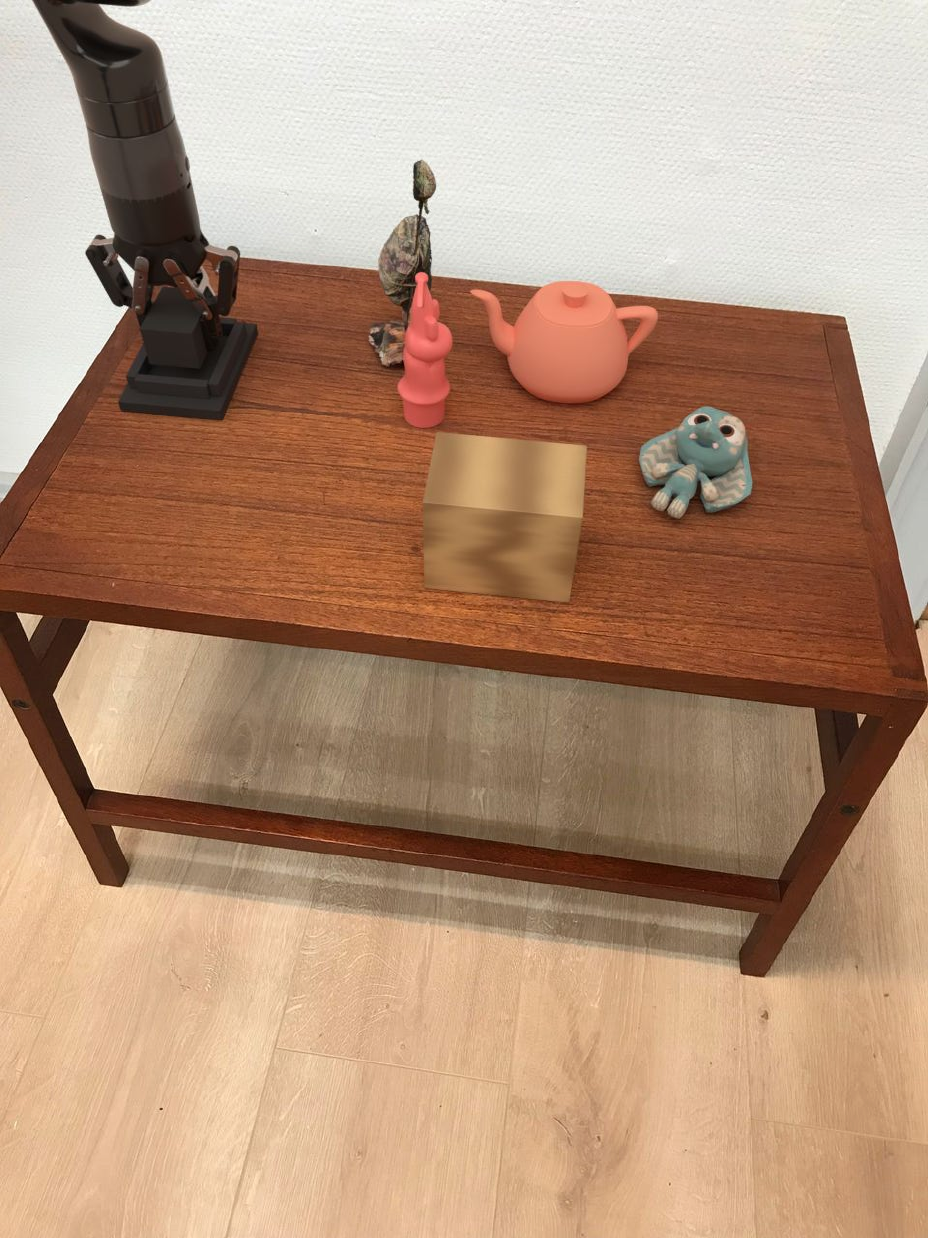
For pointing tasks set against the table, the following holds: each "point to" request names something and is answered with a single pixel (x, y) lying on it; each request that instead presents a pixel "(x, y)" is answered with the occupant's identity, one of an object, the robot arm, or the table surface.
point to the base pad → (191, 378)
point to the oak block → (503, 516)
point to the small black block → (173, 331)
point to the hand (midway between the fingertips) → (184, 343)
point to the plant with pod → (404, 267)
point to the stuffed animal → (699, 462)
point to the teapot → (568, 340)
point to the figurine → (425, 361)
